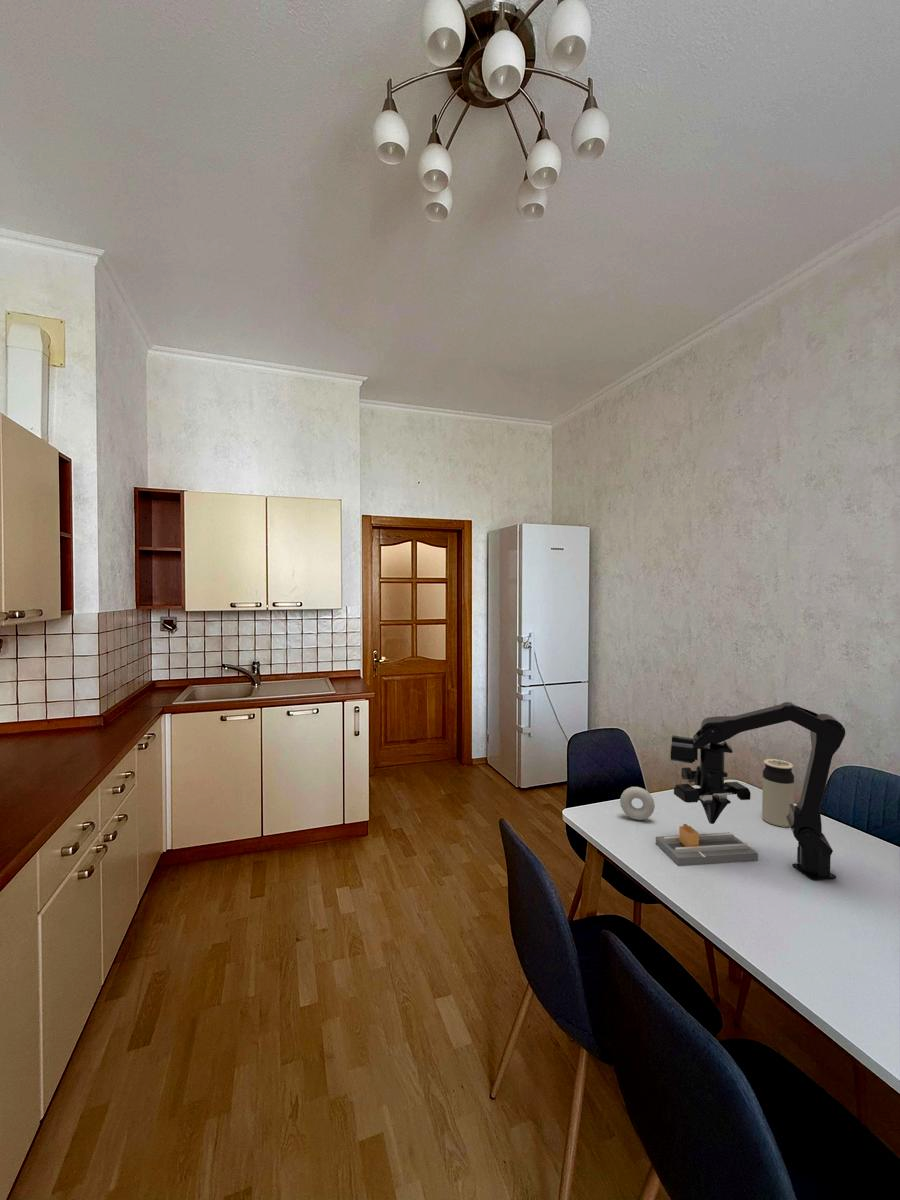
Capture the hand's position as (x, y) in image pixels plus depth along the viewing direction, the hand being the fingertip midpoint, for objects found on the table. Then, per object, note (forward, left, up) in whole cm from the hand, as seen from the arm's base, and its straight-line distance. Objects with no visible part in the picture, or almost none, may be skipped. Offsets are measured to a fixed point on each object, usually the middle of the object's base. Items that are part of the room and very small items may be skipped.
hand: (711, 823), depth 133 cm
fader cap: (0, +6, -5) cm, 8 cm away
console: (0, +2, -8) cm, 8 cm away
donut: (+20, +11, -8) cm, 24 cm away
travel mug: (+14, -31, -8) cm, 35 cm away
